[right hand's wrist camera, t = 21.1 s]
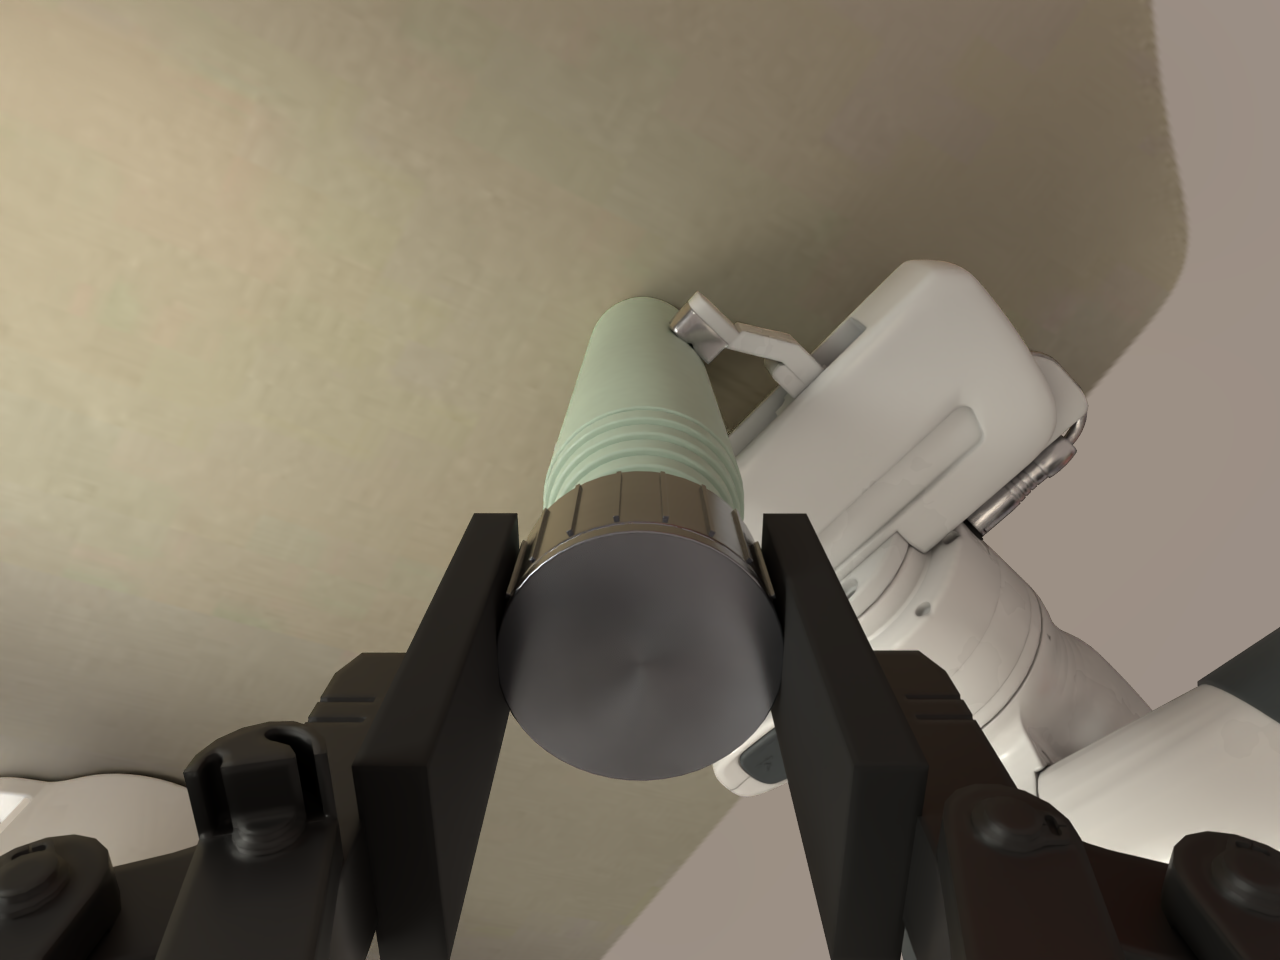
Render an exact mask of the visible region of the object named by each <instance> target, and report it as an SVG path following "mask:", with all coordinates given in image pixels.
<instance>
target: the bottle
mask: <svg viewBox="0 0 1280 960" xmlns="http://www.w3.org/2000/svg"><path fill="white" fill-rule="evenodd" d="M678 311H679V310H678V309H676V308H675V307H674V306H672V305H671V304H669V303H667V302H665V301H662V300H660V299H656V298H651V297H635V298H630V299H627V300H624V301H621V302H619V303H617V304H615V305H614V306H612V307H611V308H610V309H608V310H607V311H606V312H605V313H604V314H603V315H602V316H601V317H600V319H599V320H598V322H597V323H596V325H595V327H594V329H593V332H592V335H591V338H590V341H589V344H588V347H587V350H586V353H585V356H584V360H583V363H582V366H581V369H580V372H579V375H578V378H577V381H576V385H575V388H574V391H573V394H572V397H571V400H570V403H569V407H568V410H567V413H566V416H565V419H564V422H563V425H562V428H561V432H560V435H559V438H558V441H557V444H556V447H555V450H554V453H553V457H552V460H551V463H550V466H549V469H548V472H547V476H546V480H545V485H544V496H543V502H544V504H543V510H544V509H545V508H547V509H548V508H549V507H550V506H551V505H552V504H554V503H555V502H556V501H557V500H558V499H559V498H561V497H562V496H563V495H565V494H566V493H568V492H569V491H571V490H572V489H574V488H575V486H576V485H578V484H580V485H582V484H584V483H586V482H588V481H591V480H594V479H596V478H599V477H602V476H606V475H611V474H615V473H617V471H622V472H629V471H630V472H631V471H652V472H659V473H660V471H663V472H665V473H666V474H671V475H674V476H678V477H682V478H685V479H687V480H690V481H692V482H695V483H697V484H699V485H701V484H703V485H705V486H706V489H708V490H710V491H712V492H713V493H715V494H716V495H717V496H719V497H720V498H721V499H723V500H724V501H725V502H726V503H727V504H728V505H729V506H730V507H731V508H732V509H733V510H734V509H735V508H736V509H737V510H738V511H739V514H740V518H741V519H742V520H744V490H743V482H742V478H741V475H740V471H739V468H738V465H737V462H736V459H735V456H734V453H733V450H732V446H731V443H730V440H729V437H728V434H727V431H726V428H725V425H724V422H723V419H722V416H721V413H720V410H719V407H718V404H717V401H716V398H715V395H714V392H713V389H712V386H711V383H710V380H709V377H708V374H707V371H706V368H705V365H704V362H703V359H702V358H700V357H699V356H698V355H697V353H696V352H695V351H694V349H693V346H692V343H686V342H684V341H683V340H682V339H680V338H679V337H678V336H677V335H676V334H675V333H674V332H673V331H672V329H671V328H670V326H669V325H670V324H669V321H670V320H671V319H672V318H673V317H674V316H675V315H676V314H677V312H678Z"/></svg>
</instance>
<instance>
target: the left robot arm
mask: <svg viewBox="0 0 1280 960" xmlns="http://www.w3.org/2000/svg"><path fill="white" fill-rule="evenodd" d="M669 324H670V325H669V326H670V328H671V329H672V331H673V332H674V333H675V334H676V335H677V336H678V337H679V338H680V339H682V340H683V341H684V342H686V343H692V346H693V349H694V351H695V352H696V353H697V355H698V356H699V357H700V358H702V359H703V360H704V361H705V362H706V363H707V364H709V363H710V362H711V361H712V360H713V359H714V358H715V357H716V356H717V355H718V354H719V353H720V352H722V351H723V350H724V349H725V348H727V349H730V350H734V351H738V352H743V353H747V354H751V355H755V356H759V357H763V358H766V359H765V360H764V365H765V367H766V368H767V370H768V371H769V373H770V374H771V376H772V377H773V379H774V380H775V381H776V382H777V383H778V384H779V385H778V386H777V387H776V388H775V389H774V390H773V391H772V392H771V393H770V394H769V395H768V396H767V397H766V398H765V399H764V400H763V401H762V402H761V403H760V404H759V405H758V406H757V407H756V408H755V409H754V410H753V411H752V412H751V413H750V414H749V415H748V416H747V417H746V418H745V419H744V420H743V421H742V422H741V423H740V424H739V425H738V426H737V427H736V428H735V429H734V430H733V431H732V432H731V433H730V434H729V435H728V437H729V440H730V443H731V446H732V450H733V453H734V456H735V459H736V462H737V465H738V468H739V471H740V475H741V478H742V482H743V490H744V520H743V522H744V523H745V524H746V526H747V528H748V529H749V531H750V533H751V535H752V537H753V538H754V541H755V542H757V541H758V542H759V544H760V547H761V544H762V526H763V513H806V514H807V516H808V518H809V520H810V522H811V524H812V526H813V528H814V530H815V532H816V534H817V536H818V538H819V540H820V542H821V544H822V546H823V548H824V551H825V553H826V555H827V557H828V559H829V561H830V563H831V565H832V567H833V569H834V571H835V573H836V575H837V577H838V579H839V581H840V583H841V585H842V588H843V590H844V592H845V594H846V596H847V598H848V600H849V602H850V604H851V606H852V608H853V610H854V612H855V614H856V616H857V618H858V620H859V622H860V625H861V627H862V629H863V631H864V633H865V635H866V637H867V639H868V641H869V643H870V645H871V647H872V649H873V650H919V651H920V652H922V653H923V654H924V655H926V656H927V657H928V658H929V659H931V660H932V661H933V662H935V663H936V664H937V665H939V666H940V667H941V668H943V669H944V670H945V671H946V672H947V674H948V675H949V677H950V679H951V680H952V682H953V683H954V685H955V687H956V688H957V690H958V692H959V693H960V698H961V700H964V701H965V703H966V705H967V706H968V708H969V710H970V711H971V713H972V714H973V720H976V721H977V723H978V724H979V726H980V728H981V729H982V731H983V732H984V734H985V736H986V737H987V739H988V741H989V742H990V744H991V745H992V747H993V749H994V750H995V752H996V754H997V755H998V757H999V759H1000V760H1001V762H1002V763H1003V765H1004V767H1005V768H1006V770H1007V772H1008V773H1009V775H1010V777H1011V778H1012V780H1013V781H1014V783H1015V785H1016V786H1017V788H1018V789H1021V790H1024V791H1027V792H1029V793H1031V794H1033V795H1035V796H1036V797H1038V798H1040V799H1042V800H1044V801H1046V802H1048V803H1050V804H1051V805H1052V806H1054V807H1055V808H1056V809H1057V810H1058V811H1059V812H1061V813H1062V814H1063V815H1064V816H1065V817H1067V818H1068V819H1069V820H1070V822H1071V823H1072V825H1073V827H1074V828H1075V830H1076V831H1077V833H1078V834H1079V836H1080V838H1081V840H1082V841H1084V842H1086V843H1089V844H1092V845H1096V846H1099V847H1102V848H1105V849H1109V850H1113V851H1117V852H1121V853H1125V854H1130V855H1134V856H1138V857H1142V858H1147V859H1151V860H1155V861H1159V862H1164V863H1168V864H1169V861H1170V858H1171V854H1172V851H1173V847H1174V846H1175V845H1176V844H1177V843H1178V842H1179V841H1180V840H1181V839H1182V838H1183V837H1184V836H1185V835H1188V834H1194V833H1199V832H1204V831H1213V832H1221V833H1230V834H1236V835H1239V836H1242V837H1245V838H1248V839H1251V840H1254V841H1257V842H1260V843H1263V844H1266V845H1268V846H1270V847H1272V848H1274V849H1276V850H1277V851H1279V852H1280V627H1279V628H1278V629H1276V630H1275V631H1273V632H1272V633H1270V634H1269V635H1267V636H1266V637H1264V638H1263V639H1261V640H1260V641H1258V642H1257V643H1255V644H1254V645H1252V646H1251V647H1249V648H1248V649H1246V650H1245V651H1243V652H1242V653H1240V654H1239V655H1237V656H1235V657H1234V658H1233V659H1231V660H1229V661H1228V662H1226V663H1225V664H1223V665H1222V666H1220V667H1219V668H1217V669H1216V670H1214V671H1213V672H1211V673H1210V674H1208V675H1207V676H1205V677H1204V678H1202V679H1201V680H1199V681H1198V687H1196V688H1194V689H1192V690H1190V691H1189V692H1187V693H1185V694H1183V695H1181V696H1179V697H1177V698H1175V699H1174V700H1172V701H1170V702H1168V703H1166V704H1164V705H1162V706H1161V707H1159V708H1157V709H1155V710H1153V711H1152V710H1151V708H1150V707H1149V706H1148V705H1147V704H1146V703H1145V701H1144V700H1143V699H1142V698H1141V697H1140V696H1139V695H1138V694H1137V692H1136V691H1135V690H1134V689H1133V688H1132V687H1131V686H1130V685H1129V684H1128V683H1127V682H1126V681H1125V679H1124V678H1123V677H1122V676H1121V675H1120V674H1119V673H1118V672H1117V671H1116V670H1115V669H1114V668H1113V667H1112V666H1111V665H1110V664H1109V663H1108V662H1107V661H1106V660H1105V659H1104V658H1103V657H1102V656H1101V655H1100V654H1099V653H1098V652H1096V651H1095V650H1094V649H1093V648H1092V647H1091V646H1089V645H1088V644H1086V643H1085V642H1083V641H1082V640H1080V639H1079V638H1077V637H1075V636H1073V635H1071V634H1068V633H1066V632H1064V631H1062V630H1060V629H1059V628H1057V627H1056V626H1055V625H1054V623H1053V622H1052V620H1051V618H1050V616H1049V613H1048V611H1047V610H1046V608H1045V606H1044V604H1043V603H1042V601H1041V599H1040V598H1039V596H1038V595H1037V594H1036V593H1035V592H1034V590H1033V589H1032V588H1031V587H1030V586H1029V585H1028V584H1027V583H1026V582H1025V581H1024V580H1023V579H1022V578H1021V577H1020V576H1019V575H1018V574H1017V573H1016V572H1015V571H1014V570H1013V569H1012V568H1011V567H1010V566H1009V565H1008V564H1007V563H1006V562H1004V560H1003V559H1001V558H1000V557H999V556H998V555H997V554H996V553H995V552H994V551H993V550H992V549H991V548H990V547H989V546H988V545H987V544H986V543H985V542H984V541H983V538H982V537H983V536H984V535H985V534H986V533H987V532H988V531H990V530H991V529H992V528H993V527H994V526H996V525H997V524H998V523H999V522H1000V521H1001V520H1002V519H1004V518H1005V517H1006V516H1007V515H1008V514H1010V513H1011V512H1012V511H1013V510H1014V509H1015V508H1016V507H1017V506H1018V505H1019V504H1020V501H1023V500H1024V499H1025V496H1027V495H1028V494H1029V493H1030V492H1031V490H1033V489H1034V488H1035V487H1037V485H1039V484H1040V483H1041V482H1043V481H1044V480H1045V479H1046V478H1048V477H1049V478H1050V477H1052V476H1054V475H1055V474H1056V473H1058V472H1059V471H1060V470H1061V469H1062V468H1063V467H1064V466H1066V465H1067V463H1068V462H1069V461H1070V460H1071V459H1072V458H1073V456H1074V455H1075V454H1076V452H1077V450H1076V448H1075V447H1074V446H1073V444H1074V443H1075V441H1076V440H1077V439H1078V437H1079V436H1080V434H1081V432H1082V430H1083V428H1084V425H1085V422H1086V417H1087V410H1088V403H1087V399H1086V397H1085V395H1084V393H1083V391H1082V389H1081V387H1080V386H1079V385H1078V384H1077V383H1076V382H1075V381H1074V379H1073V378H1072V377H1071V376H1070V375H1069V374H1068V373H1067V372H1066V371H1065V370H1064V369H1063V367H1062V366H1061V365H1060V364H1059V363H1058V362H1057V361H1056V360H1055V359H1053V358H1052V357H1050V356H1048V355H1046V354H1044V353H1041V352H1038V351H1030V350H1029V349H1028V347H1027V346H1026V344H1025V343H1024V341H1023V340H1022V338H1021V337H1020V335H1019V334H1018V332H1017V330H1016V329H1015V328H1014V326H1013V325H1012V323H1011V322H1010V320H1009V319H1008V318H1007V316H1006V315H1005V314H1004V312H1003V311H1002V310H1001V308H1000V307H999V305H998V304H997V303H996V302H995V300H994V299H993V298H992V297H991V295H990V294H989V293H988V292H987V290H986V289H985V288H984V287H983V286H982V285H981V283H980V282H979V281H978V280H977V279H976V278H975V277H974V276H973V275H972V274H971V273H970V272H968V271H967V270H965V269H964V268H962V267H960V266H958V265H955V264H953V263H950V262H946V261H939V260H909V261H906V262H904V263H902V264H901V265H900V266H899V267H897V268H896V269H895V270H894V271H893V272H892V273H891V274H890V275H889V276H888V277H887V278H886V279H885V280H884V281H883V282H882V283H881V284H880V285H879V286H878V287H877V288H876V289H875V290H874V291H873V292H872V293H871V294H870V295H869V296H868V297H867V298H866V299H865V300H864V301H863V302H862V303H861V304H860V305H859V306H858V307H857V308H856V309H855V310H854V311H853V312H852V313H851V314H850V315H849V316H848V317H847V318H846V319H845V320H844V321H843V322H842V323H841V324H840V325H839V326H838V327H837V328H836V329H835V330H834V331H833V332H832V333H831V334H830V335H829V336H828V337H827V338H826V339H825V340H824V341H823V342H822V343H821V344H820V345H819V346H818V347H817V348H816V349H815V350H814V351H813V352H812V353H811V354H809V353H808V352H807V351H806V350H805V349H804V348H803V347H802V346H801V345H800V344H799V343H798V342H797V341H796V340H795V339H794V338H793V337H792V336H791V335H790V334H788V333H784V332H779V331H775V330H770V329H766V328H761V327H757V326H752V325H748V324H743V323H739V322H736V323H735V324H733V323H732V322H731V321H730V320H729V319H728V318H727V317H726V316H725V315H724V314H723V313H721V312H720V311H719V310H718V309H717V308H716V307H715V306H714V305H713V304H712V303H711V302H710V301H709V300H708V299H707V298H706V297H705V296H704V295H702V294H701V293H700V292H699V291H697V292H696V293H695V294H694V295H693V296H692V297H691V298H690V299H689V301H687V303H686V304H685V305H684V306H683V307H682V308H681V309H680V310H679V311H678V312H677V314H676V315H675V316H674V317H673V318H672V319H671V320H670V321H669ZM1068 428H1069V430H1068V432H1067V433H1066V435H1065V436H1064V437H1063V436H1062V434H1063V433H1064V432H1065V431H1066V430H1067V429H1068ZM556 444H557V442H556ZM556 444H555V447H556ZM554 450H555V448H554ZM712 767H713V770H714V773H715V776H716V778H717V779H718V780H719V782H720V783H721V784H722V785H723V786H725V787H726V788H727V789H728V790H730V791H731V792H733V793H734V794H736V795H739V796H742V797H753V796H757V795H760V794H763V793H766V792H768V791H771V790H773V789H775V788H777V787H780V786H782V785H784V784H786V783H788V780H787V776H786V772H785V768H784V763H783V759H782V755H781V751H780V747H779V743H778V739H777V734H776V730H775V726H774V722H773V718H772V714H771V710H770V712H769V714H768V715H767V717H766V719H765V720H764V721H763V723H762V724H761V725H760V727H759V728H758V729H757V730H756V732H755V733H754V734H753V735H752V736H751V737H750V738H749V739H748V740H747V741H746V742H745V743H744V744H742V745H741V746H740V747H738V748H737V749H736V750H735V751H733V752H732V753H731V754H729V755H728V756H726V757H724V758H722V759H721V760H719V761H717V762H716V763H714V764H712ZM72 834H76V835H81V836H86V837H92V838H96V839H97V840H98V841H99V842H100V843H101V844H102V845H103V846H105V847H106V848H107V849H108V852H109V855H110V859H111V862H112V866H113V867H114V866H119V865H123V864H127V863H131V862H136V861H140V860H144V859H148V858H152V857H157V856H161V855H165V854H169V853H173V852H176V851H180V850H183V849H186V848H189V847H193V846H195V845H197V844H198V841H199V837H198V833H197V828H196V824H195V820H194V816H193V812H192V807H191V803H190V799H189V795H188V791H187V788H186V787H183V786H181V785H178V784H175V783H172V782H169V781H165V780H161V779H157V778H153V777H147V776H141V775H133V774H98V775H90V776H85V777H80V778H75V779H70V780H65V781H57V782H46V781H39V780H32V779H25V778H15V777H0V856H1V855H3V854H5V853H7V852H9V851H11V850H12V849H14V848H17V847H20V846H23V845H26V844H29V843H32V842H35V841H38V840H41V839H43V838H46V837H55V836H63V835H72ZM901 952H902V956H903V960H917V959H916V956H915V954H914V951H913V948H912V945H911V942H910V939H909V936H908V934H907V931H906V928H905V931H904V938H903V944H902V951H901Z"/></svg>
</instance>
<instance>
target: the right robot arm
mask: <svg viewBox="0 0 1280 960" xmlns="http://www.w3.org/2000/svg"><path fill="white" fill-rule="evenodd" d="M761 550H762V553H763V557H764V560H765V563H766V566H767V569H768V572H769V575H770V578H771V581H772V585H773V588H774V591H775V594H776V597H777V598H776V599H774V603H775V606H776V609H777V612H778V616H779V619H780V622H781V625H782V630H783V635H784V654H783V669H782V681H781V688H780V691H779V693H778V696H777V698H776V700H775V703H774V705H773V707H772V709H771V714H772V718H773V722H774V726H775V730H776V734H777V739H778V743H779V747H780V751H781V755H782V759H783V763H784V768H785V772H786V776H787V780H788V784H789V788H790V792H791V797H792V801H793V804H794V809H795V813H796V817H797V821H798V825H799V830H800V834H801V838H802V842H803V846H804V850H805V854H806V859H807V863H808V867H809V871H810V875H811V879H812V883H813V888H814V892H815V896H816V900H817V904H818V908H819V912H820V916H821V921H822V925H823V929H824V933H825V937H826V941H827V945H828V950H829V954H830V958H831V960H900V957H901V951H902V944H903V938H904V931H905V928H906V931H907V934H908V936H909V939H910V942H911V945H912V948H913V951H914V954H915V956H916V959H917V960H1280V852H1279V851H1277V850H1276V849H1274V848H1272V847H1270V846H1268V845H1266V844H1263V843H1260V842H1257V841H1254V840H1251V839H1248V838H1245V837H1242V836H1239V835H1236V834H1230V833H1221V832H1213V831H1204V832H1199V833H1194V834H1188V835H1185V836H1184V837H1183V838H1182V839H1181V840H1180V841H1179V842H1178V843H1177V844H1176V845H1175V846H1174V847H1173V851H1172V854H1171V858H1170V861H1169V864H1168V863H1164V862H1159V861H1155V860H1151V859H1147V858H1142V857H1138V856H1134V855H1130V854H1125V853H1121V852H1117V851H1113V850H1109V849H1105V848H1102V847H1099V846H1096V845H1092V844H1089V843H1086V842H1084V841H1082V840H1081V838H1080V836H1079V834H1078V833H1077V831H1076V830H1075V828H1074V827H1073V825H1072V823H1071V822H1070V820H1069V819H1068V818H1067V817H1065V816H1064V815H1063V814H1062V813H1061V812H1059V811H1058V810H1057V809H1056V808H1055V807H1054V806H1052V805H1051V804H1050V803H1048V802H1046V801H1044V800H1042V799H1040V798H1038V797H1036V796H1035V795H1033V794H1031V793H1029V792H1027V791H1024V790H1021V789H1018V788H1017V786H1016V785H1015V783H1014V781H1013V780H1012V778H1011V777H1010V775H1009V773H1008V772H1007V770H1006V768H1005V767H1004V765H1003V763H1002V762H1001V760H1000V759H999V757H998V755H997V754H996V752H995V750H994V749H993V747H992V745H991V744H990V742H989V741H988V739H987V737H986V736H985V734H984V732H983V731H982V729H981V728H980V726H979V724H978V723H977V721H976V720H973V714H972V713H971V711H970V710H969V708H968V706H967V705H966V703H965V701H964V700H961V698H960V693H959V692H958V690H957V688H956V687H955V685H954V683H953V682H952V680H951V679H950V677H949V675H948V674H947V672H946V671H945V670H944V669H943V668H941V667H940V666H939V665H937V664H936V663H935V662H933V661H932V660H931V659H929V658H928V657H927V656H926V655H924V654H923V653H922V652H920V651H919V650H873V649H872V647H871V645H870V643H869V641H868V639H867V637H866V635H865V633H864V631H863V629H862V627H861V625H860V622H859V620H858V618H857V616H856V614H855V612H854V610H853V608H852V606H851V604H850V602H849V600H848V598H847V596H846V594H845V592H844V590H843V588H842V585H841V583H840V581H839V579H838V577H837V575H836V573H835V571H834V569H833V567H832V565H831V563H830V561H829V559H828V557H827V555H826V553H825V551H824V548H823V546H822V544H821V542H820V540H819V538H818V536H817V534H816V532H815V530H814V528H813V526H812V524H811V522H810V520H809V518H808V516H807V514H806V513H763V526H762V544H761ZM518 553H519V534H518V517H517V513H474V515H473V517H472V519H471V521H470V523H469V525H468V527H467V529H466V531H465V533H464V535H463V537H462V539H461V541H460V543H459V546H458V548H457V550H456V552H455V554H454V556H453V558H452V560H451V562H450V564H449V566H448V568H447V570H446V572H445V574H444V576H443V578H442V580H441V583H440V585H439V587H438V589H437V591H436V593H435V595H434V597H433V599H432V601H431V603H430V605H429V607H428V609H427V611H426V613H425V615H424V617H423V620H422V622H421V624H420V626H419V628H418V630H417V632H416V634H415V636H414V638H413V640H412V642H411V644H410V646H409V648H408V650H407V652H406V653H361V654H360V655H359V656H357V657H356V658H355V659H353V660H352V661H351V662H350V663H348V664H347V665H346V666H344V667H343V668H342V669H340V670H339V671H338V672H336V673H335V675H334V676H333V678H332V679H331V681H330V683H329V684H328V686H327V688H326V689H325V691H324V693H323V694H322V696H321V700H320V702H317V704H316V706H315V707H314V709H313V711H312V712H311V714H310V716H309V717H308V719H309V720H308V722H305V724H301V723H298V722H294V721H285V722H266V723H262V724H257V725H253V726H249V727H244V728H241V729H239V730H237V731H235V732H232V733H230V734H228V735H226V736H223V737H221V738H219V739H217V740H215V741H214V742H213V743H211V744H210V745H209V746H207V747H206V748H205V749H203V750H202V751H201V752H199V753H198V754H197V755H196V756H195V757H194V758H193V760H192V761H191V762H190V764H189V765H188V767H187V768H186V769H185V771H184V772H183V774H184V778H185V782H186V786H187V791H188V795H189V799H190V803H191V807H192V812H193V816H194V820H195V824H196V828H197V833H198V837H199V841H198V844H197V845H195V846H193V847H189V848H186V849H183V850H180V851H176V852H173V853H169V854H165V855H161V856H157V857H152V858H148V859H144V860H140V861H136V862H131V863H127V864H123V865H119V866H114V867H113V866H112V862H111V859H110V855H109V852H108V849H107V848H106V847H105V846H103V845H102V844H101V843H100V842H99V841H98V840H97V839H96V838H92V837H86V836H81V835H76V834H72V835H63V836H55V837H46V838H43V839H41V840H38V841H35V842H32V843H29V844H26V845H23V846H20V847H17V848H14V849H12V850H11V851H9V852H7V853H5V854H3V855H1V856H0V960H365V959H366V956H367V954H368V951H369V948H370V945H371V942H372V939H373V936H374V933H375V931H376V934H377V941H378V947H379V954H380V960H450V956H451V952H452V948H453V944H454V939H455V935H456V931H457V927H458V923H459V919H460V915H461V910H462V906H463V902H464V898H465V894H466V890H467V886H468V881H469V877H470V873H471V869H472V865H473V861H474V857H475V852H476V848H477V844H478V840H479V836H480V832H481V828H482V824H483V819H484V815H485V811H486V807H487V803H488V799H489V795H490V790H491V786H492V782H493V778H494V774H495V770H496V766H497V761H498V757H499V753H500V749H501V745H502V741H503V737H504V732H505V728H506V724H507V720H508V716H509V712H510V709H509V707H508V705H507V703H506V701H505V699H504V697H503V694H502V691H501V688H500V685H499V675H498V661H497V645H496V638H497V633H498V629H499V625H500V621H501V618H502V615H503V611H504V608H505V605H506V602H507V599H508V598H505V597H504V596H505V593H506V590H507V587H508V584H509V581H510V578H511V575H512V571H513V568H514V565H515V562H516V559H517V556H518Z"/></svg>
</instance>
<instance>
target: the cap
mask: <svg viewBox="0 0 1280 960" xmlns="http://www.w3.org/2000/svg"><path fill="white" fill-rule="evenodd" d="M504 597H505V598H508V599H507V602H506V605H505V608H504V611H503V615H502V618H501V621H500V625H499V629H498V633H497V638H496V645H497V661H498V675H499V685H500V688H501V691H502V694H503V697H504V699H505V701H506V703H507V705H508V707H509V709H510V711H511V713H512V715H513V716H514V717H515V719H516V720H517V722H518V723H519V724H520V726H521V727H522V729H523V730H524V731H525V732H526V733H527V734H528V735H529V736H530V737H531V738H532V739H533V740H534V741H535V742H536V743H537V744H539V745H540V746H541V747H542V748H543V749H545V750H546V751H547V752H549V753H550V754H552V755H553V756H555V757H557V758H558V759H560V760H561V761H563V762H565V763H567V764H569V765H572V766H574V767H576V768H578V769H581V770H584V771H586V772H589V773H592V774H596V775H600V776H604V777H608V778H614V779H622V780H640V781H648V780H659V779H667V778H672V777H677V776H682V775H685V774H688V773H691V772H695V771H698V770H700V769H702V768H705V767H707V766H709V765H711V764H714V763H716V762H717V761H719V760H721V759H722V758H724V757H726V756H728V755H729V754H731V753H732V752H733V751H735V750H736V749H737V748H738V747H740V746H741V745H742V744H744V743H745V742H746V741H747V740H748V739H749V738H750V737H751V736H752V735H753V734H754V733H755V732H756V730H757V729H758V728H759V727H760V725H761V724H762V723H763V721H764V720H765V719H766V717H767V715H768V714H769V712H770V710H771V709H772V707H773V705H774V703H775V700H776V698H777V696H778V693H779V691H780V688H781V681H782V669H783V654H784V635H783V630H782V625H781V622H780V619H779V616H778V612H777V609H776V606H775V603H774V599H776V598H777V597H776V594H775V591H774V588H773V585H772V581H771V578H770V575H769V572H768V569H767V566H766V563H765V560H764V557H763V553H762V550H761V547H760V544H759V542H758V541H757V542H755V541H754V538H753V537H752V535H751V533H750V531H749V529H748V528H747V526H746V524H745V523H744V522H743V520H742V519H741V518H740V514H739V511H738V510H737V509H736V508H735V509H734V510H733V509H732V508H731V507H730V506H729V505H728V504H727V503H726V502H725V501H724V500H723V499H721V498H720V497H719V496H717V495H716V494H715V493H713V492H712V491H710V490H708V489H706V486H705V485H703V484H701V485H699V484H697V483H695V482H692V481H690V480H687V479H685V478H682V477H678V476H674V475H671V474H666V473H665V472H663V471H660V473H659V472H652V471H631V472H630V471H629V472H622V471H617V473H615V474H611V475H606V476H602V477H599V478H596V479H594V480H591V481H588V482H586V483H584V484H582V485H580V484H578V485H576V486H575V488H574V489H572V490H571V491H569V492H568V493H566V494H565V495H563V496H562V497H561V498H559V499H558V500H557V501H556V502H555V503H554V504H552V505H551V506H550V507H549V508H548V509H547V508H545V509H544V510H543V512H542V515H541V517H540V519H539V520H538V521H537V522H536V524H535V526H534V527H533V529H532V531H531V532H530V534H529V536H528V538H527V541H524V540H523V541H522V543H521V546H520V550H519V553H518V556H517V559H516V562H515V565H514V568H513V571H512V575H511V578H510V581H509V584H508V587H507V590H506V593H505V596H504Z"/></svg>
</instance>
